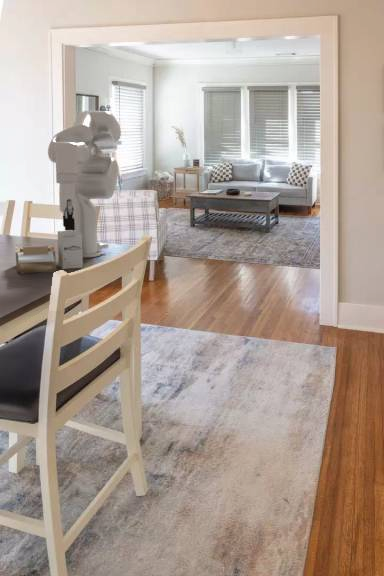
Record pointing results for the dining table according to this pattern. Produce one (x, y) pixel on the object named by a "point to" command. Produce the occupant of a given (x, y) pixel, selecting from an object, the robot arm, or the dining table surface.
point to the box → (35, 264)
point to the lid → (35, 254)
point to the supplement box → (70, 249)
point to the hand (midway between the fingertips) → (68, 228)
